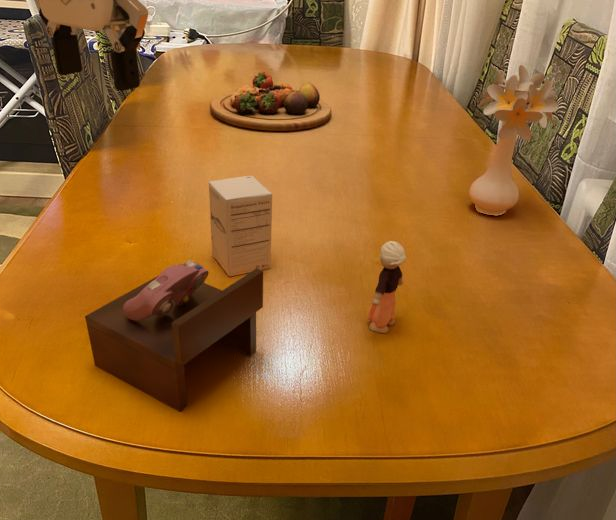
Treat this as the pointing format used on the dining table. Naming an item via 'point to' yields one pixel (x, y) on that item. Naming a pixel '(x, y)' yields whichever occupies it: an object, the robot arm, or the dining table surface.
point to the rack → (174, 335)
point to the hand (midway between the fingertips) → (98, 80)
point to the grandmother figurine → (387, 287)
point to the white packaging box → (240, 224)
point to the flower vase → (511, 134)
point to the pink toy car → (166, 291)
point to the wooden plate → (271, 106)
